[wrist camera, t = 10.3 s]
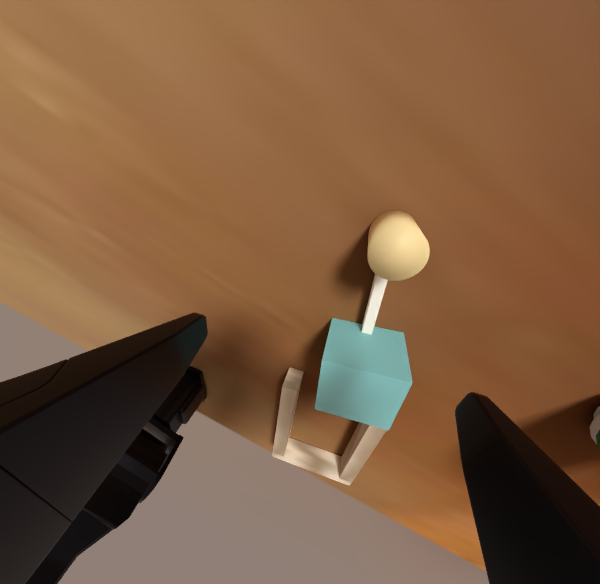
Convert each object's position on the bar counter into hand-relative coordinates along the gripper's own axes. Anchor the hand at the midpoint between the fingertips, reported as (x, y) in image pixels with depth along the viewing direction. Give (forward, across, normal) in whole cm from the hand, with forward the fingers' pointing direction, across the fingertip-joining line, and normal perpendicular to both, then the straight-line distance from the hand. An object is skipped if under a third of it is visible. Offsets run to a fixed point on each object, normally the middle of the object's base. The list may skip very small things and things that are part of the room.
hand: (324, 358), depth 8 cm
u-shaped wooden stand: (+11, -3, +22) cm, 24 cm away
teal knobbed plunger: (+11, -3, +4) cm, 12 cm away
